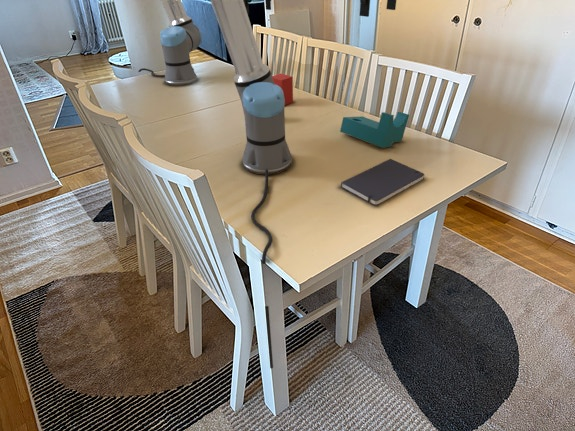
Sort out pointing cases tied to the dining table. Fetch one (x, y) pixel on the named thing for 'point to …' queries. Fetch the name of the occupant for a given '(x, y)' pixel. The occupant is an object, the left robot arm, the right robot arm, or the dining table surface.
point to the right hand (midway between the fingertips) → (377, 12)
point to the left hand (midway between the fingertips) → (257, 11)
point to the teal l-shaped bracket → (376, 128)
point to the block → (285, 86)
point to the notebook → (382, 181)
